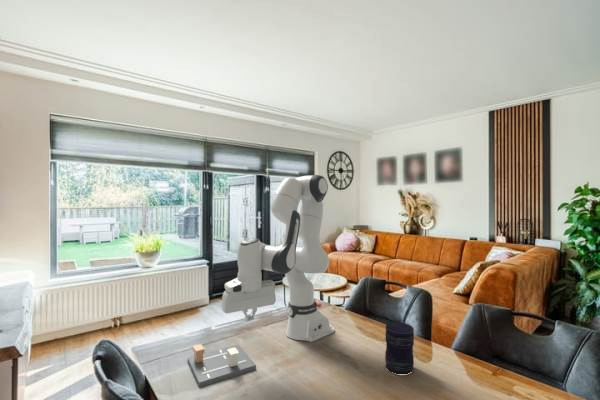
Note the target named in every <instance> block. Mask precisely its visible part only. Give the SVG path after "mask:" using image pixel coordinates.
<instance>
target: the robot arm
mask: <svg viewBox="0 0 600 400" xmlns="http://www.w3.org/2000/svg"><path fill="white" fill-rule="evenodd" d="M328 190H329V184H328V181H327V179H326V177H324V176H323V175H319V174H313V175H303V176H297V177H286V178H284V179H283V180H282V181H281V183H280V185H279V186H278V188H277V190H276V192H275V194H274V196H273V199H272V201H271V206H270V209H271V213H272V214H273V216H274V217H275V218H276V219H277V220H279V221H280V222H281V223H283V224H285V232H284V237H283V241H282V244H280V246H279V245H278V246H276V245H270V244H266V243H264V242H261V240H260V239H259V238H256V237H250V238H249V237H248V238H244V239H243V240H241V241H240V242H239V245H238V249H237V268H238V272H237V276H236V278H233V279H232V280H229V281H227V282H225V283H224V289H225V290H224V291H223V293H222V298H221V310H222V312H224V313H225V314H231V313H236V312H237V313H238V312H242V313H243V315H244V320H245V322H249V321H254V320H255V315H256V314H257V312H258V308H262V307H263V308H264V307H267V306H271V305H274V304H275V303H276V302H277V301H276V291H275V289H276V283H275V281H273V280H272V279H268V280H262V277H263V275H262V270H264V271H267V272H268V271H269V272H274V273H277V274H280V275H285V278H286V281H287V284H288V294H289V296H288V298H289V299H288V300H289V301H288V302H287V303H288V304H287V305H288V306H287V311H288V321H287V326H286V330H285V335H286V336H287V337H288V338H290V339H293V340H296V341H297V340H298V341H307V342H315V341H317V340H320V339H322V338H324V337H327V336H328V335H330V334H333V333H334V332H335V328H334V326H333V325H331V324H330V321H329V317H328V316H327V314H325V313H324V312H322V311H321V310H319V309H320V308H321V307H322V304H321V302H318V301H315V296H314V295H315V287H314V286H315V285H314V284H313V282H312V281H311V280H310V279H308V277H306V275H305V274H323V273H326V271H327V270H328V268H329V266H330V257H329V255H328V253H327V251H325V250H324V248H323V246H322V245H321V241H320V234H321V233H320V232H321V226H322V220H323V215H324V213H323V212H324V203H323V201H324V199H325V197H326V195H327V193H328ZM300 202H301V207H300V210H299V212H298V209H299V208H298V207H299V205H300ZM298 239H301V240H302V244H303V245H302V246H297V244H298ZM318 308H319V309H318ZM249 310H251V313H249V314H248V312H249Z"/></svg>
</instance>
